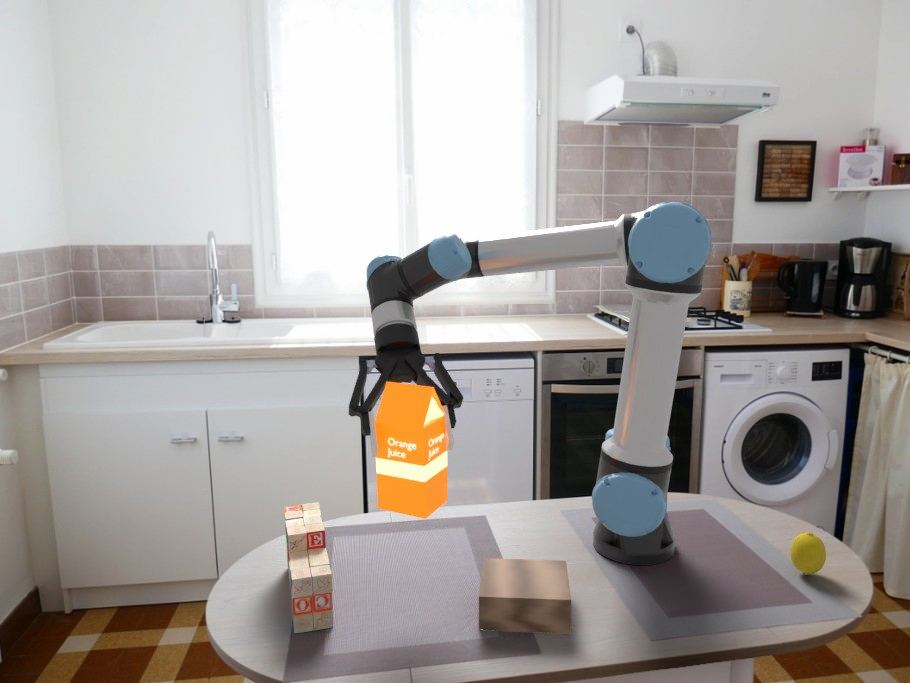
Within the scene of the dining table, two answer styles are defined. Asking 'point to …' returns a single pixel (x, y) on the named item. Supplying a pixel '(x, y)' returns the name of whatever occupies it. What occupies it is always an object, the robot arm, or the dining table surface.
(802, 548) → the lemon
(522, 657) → the dining table surface
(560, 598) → the base brick
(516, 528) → the dining table surface
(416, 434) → the orange juice
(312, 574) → the stack of blocks
